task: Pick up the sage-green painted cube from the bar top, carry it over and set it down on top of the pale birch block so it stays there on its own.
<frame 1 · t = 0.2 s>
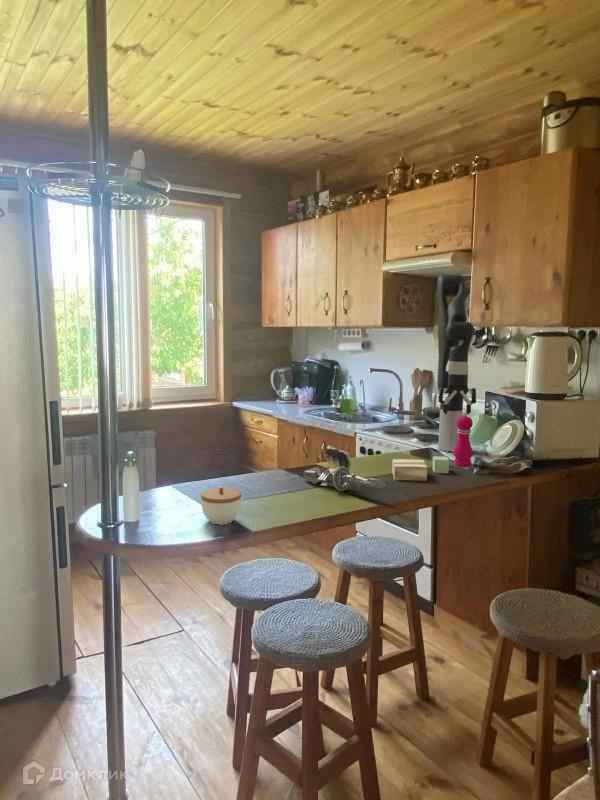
hand: (456, 414, 237), 18 cm above the breakfast bar, fingers open, 8 cm apart
pepper mill: (462, 464, 228), on the breakfast bar
lidded jar: (221, 521, 162), on the breakfast bar
green cube: (440, 471, 217), on the breakfast bar
birch block: (408, 476, 211), on the breakfast bar
spaceship: (342, 491, 192), on the breakfast bar
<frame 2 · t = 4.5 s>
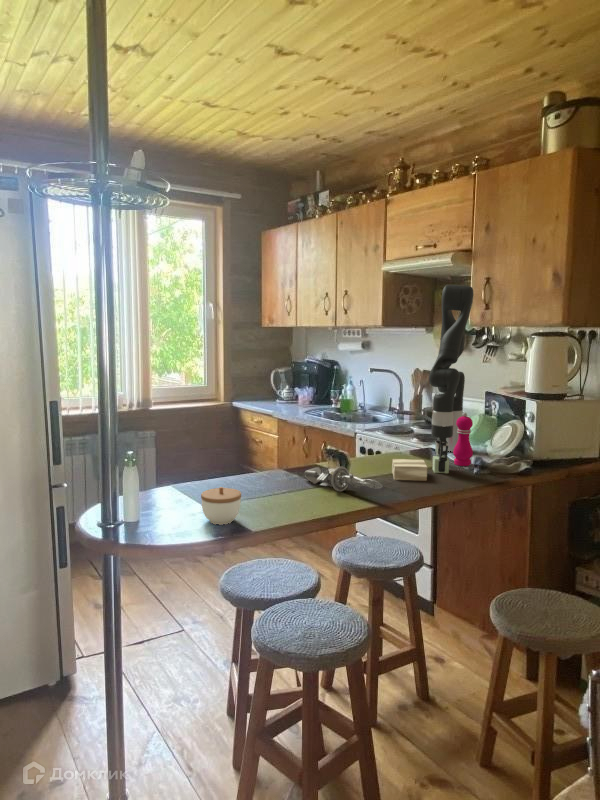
hand: (440, 469, 217), 1 cm above the breakfast bar, fingers closed on green cube, 5 cm apart
green cube: (440, 471, 217), on the breakfast bar, touching gripper
when the fingers open (7 cm above the breakfast bar, at t = 10.5 s): green cube drops 1 cm, point 5 cm above the breakfast bar.
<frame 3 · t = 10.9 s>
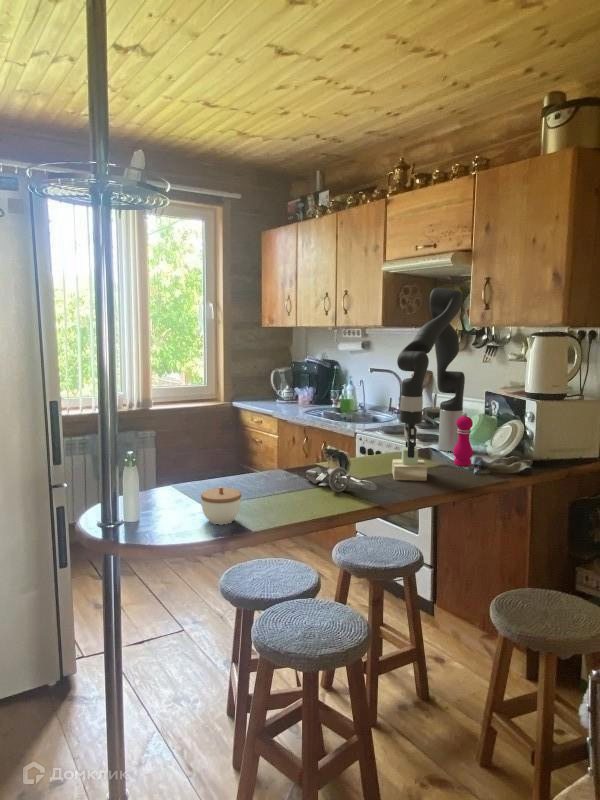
hand: (409, 454, 210), 8 cm above the breakfast bar, fingers open, 8 cm apart
green cube: (409, 462, 210), point 5 cm above the breakfast bar
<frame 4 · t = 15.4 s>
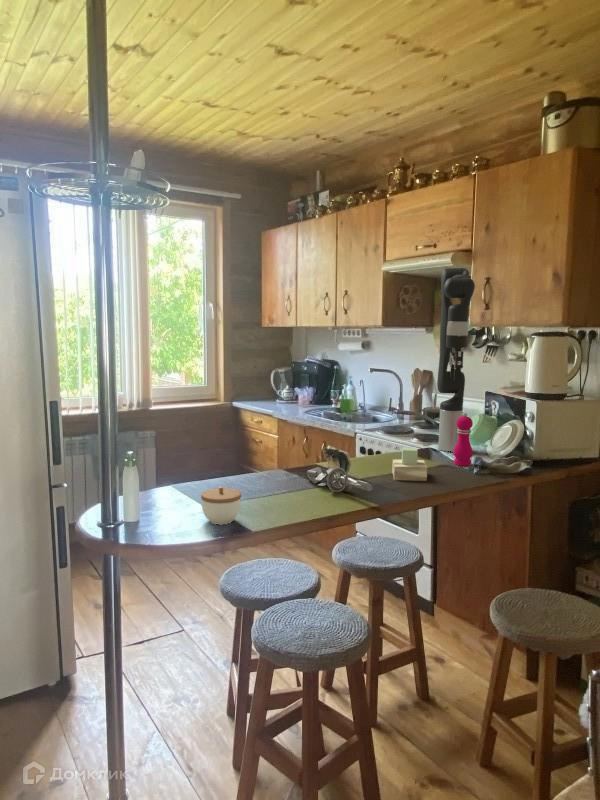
hand: (455, 378, 219), 33 cm above the breakfast bar, fingers open, 8 cm apart
green cube: (409, 463, 210), point 5 cm above the breakfast bar, touching birch block
birch block: (408, 477, 210), on the breakfast bar, touching green cube
at the end: green cube inside the target area on the birch block (0.3 cm from its centre), point 5.0 cm above the birch block's base; green cube tilted 0°; the gripper is holding nothing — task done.
